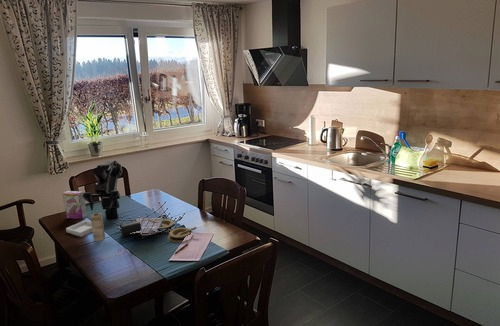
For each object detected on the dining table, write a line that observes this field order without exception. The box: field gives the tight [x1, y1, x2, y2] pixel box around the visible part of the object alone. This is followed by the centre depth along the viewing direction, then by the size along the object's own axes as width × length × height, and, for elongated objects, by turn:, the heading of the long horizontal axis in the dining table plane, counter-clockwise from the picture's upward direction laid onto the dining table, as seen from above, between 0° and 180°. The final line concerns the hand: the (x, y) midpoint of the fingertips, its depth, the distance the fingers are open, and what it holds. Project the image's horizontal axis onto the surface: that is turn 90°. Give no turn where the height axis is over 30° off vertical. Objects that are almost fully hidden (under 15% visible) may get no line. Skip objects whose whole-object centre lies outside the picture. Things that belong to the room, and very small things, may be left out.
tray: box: [65, 219, 93, 238], centre depth 212 cm, size 13×13×2 cm
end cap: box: [119, 220, 142, 238], centre depth 204 cm, size 10×7×7 cm
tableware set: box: [148, 218, 197, 243], centre depth 206 cm, size 30×20×6 cm, turn 45°
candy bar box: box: [62, 190, 88, 220], centre depth 229 cm, size 11×5×16 cm, turn 80°
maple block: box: [90, 212, 106, 242], centre depth 199 cm, size 4×4×14 cm
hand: (100, 209), depth 206 cm, fingers open, 9 cm apart
